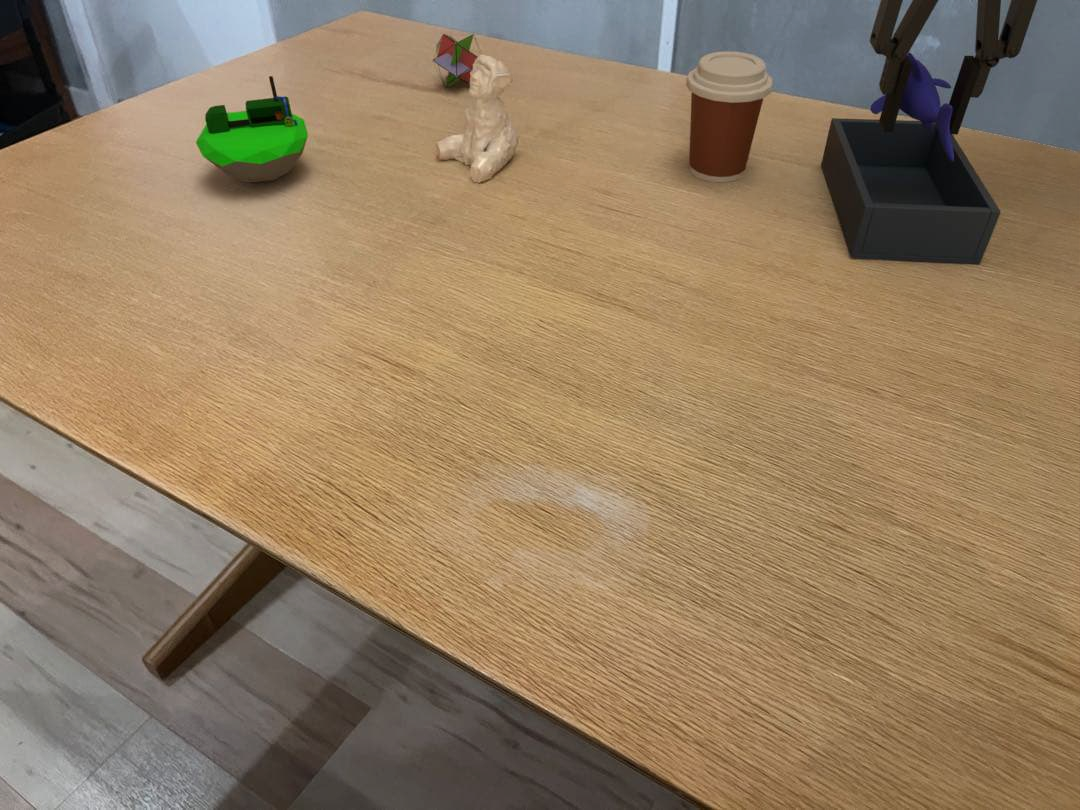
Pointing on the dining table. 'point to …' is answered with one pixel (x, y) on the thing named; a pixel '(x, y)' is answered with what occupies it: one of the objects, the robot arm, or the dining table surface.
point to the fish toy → (924, 103)
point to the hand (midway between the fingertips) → (917, 126)
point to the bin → (906, 194)
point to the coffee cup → (725, 113)
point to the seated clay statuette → (484, 123)
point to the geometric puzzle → (455, 58)
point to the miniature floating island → (254, 139)
